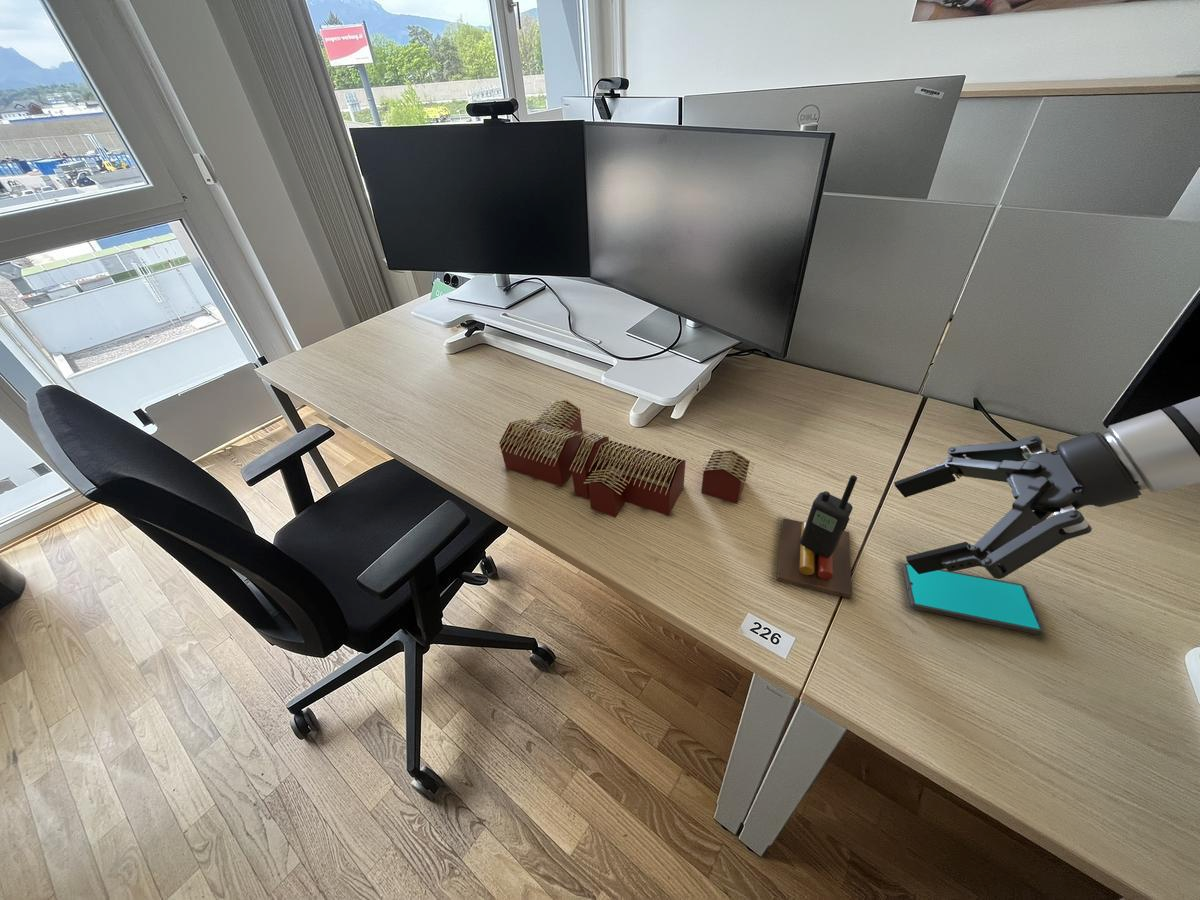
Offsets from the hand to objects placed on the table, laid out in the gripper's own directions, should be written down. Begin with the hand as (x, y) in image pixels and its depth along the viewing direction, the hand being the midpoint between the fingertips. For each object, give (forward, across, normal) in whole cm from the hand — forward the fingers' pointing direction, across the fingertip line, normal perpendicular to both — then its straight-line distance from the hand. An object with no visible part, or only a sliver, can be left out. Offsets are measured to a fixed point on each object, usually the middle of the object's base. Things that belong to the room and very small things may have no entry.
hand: (905, 524), depth 62 cm
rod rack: (+14, 0, -1) cm, 14 cm away
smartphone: (0, -1, -15) cm, 15 cm away
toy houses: (+38, +10, +23) cm, 45 cm away
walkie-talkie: (+12, 0, +1) cm, 12 cm away
